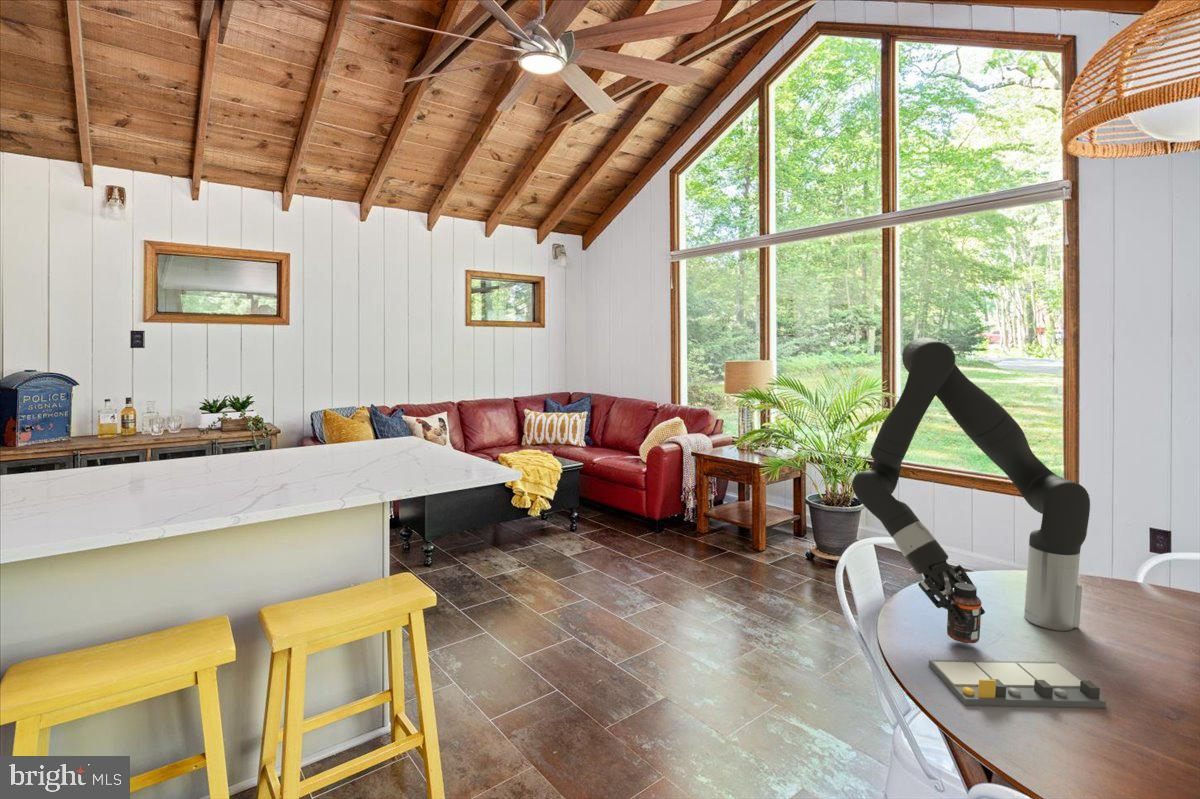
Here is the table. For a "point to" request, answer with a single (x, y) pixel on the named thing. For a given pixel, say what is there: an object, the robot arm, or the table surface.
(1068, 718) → the table surface
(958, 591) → the supplement bottle
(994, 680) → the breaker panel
